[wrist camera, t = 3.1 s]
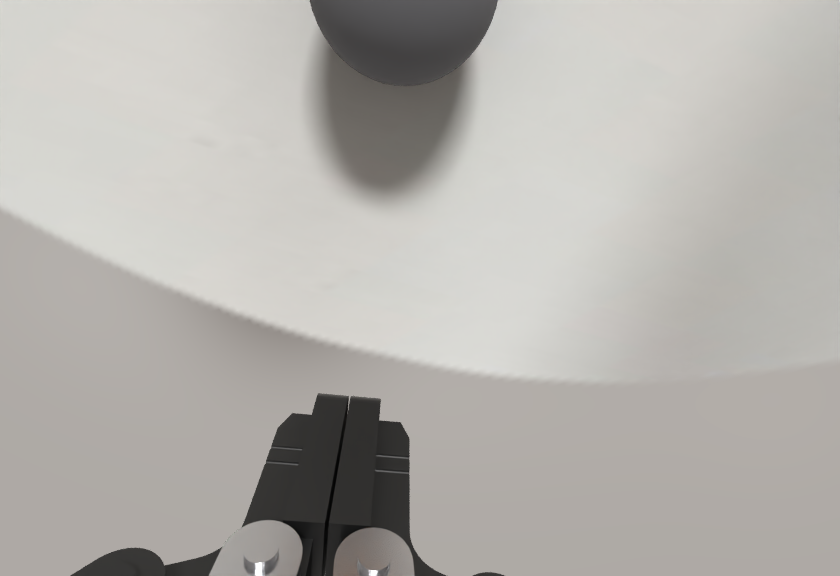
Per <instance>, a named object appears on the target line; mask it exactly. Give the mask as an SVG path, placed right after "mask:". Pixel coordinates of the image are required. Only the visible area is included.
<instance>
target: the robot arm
mask: <svg viewBox="0 0 840 576" xmlns="http://www.w3.org/2000/svg"><path fill="white" fill-rule="evenodd" d="M348 401H349V396H343V395H331V394H320V393H319V394H318V395H317V398H316V402H315V405H314V409H313V413H312V415H307V414H295V413H293V414H291V415H290V416H289V417H288V418H287V419H286V420H285V421H284V422H283V423H282V424H281V425H280V426H279V427H278V429H277V432H276V435H275V437H274V440H273V443H272V447H271V449H270V451H269V455H268V457H267V460H266V464H265V465H264V469H263V471H262V474H261V477H260V479H259V483H258V485H257V488H256V491H255V494H254V496H253V499H252V502H251V505H250V507H249V510H248V513H247V516H246V519H245V521H244V523H243V526H242V527H241V529H239V530H237V531H236V532H234V534H232V535H231V536H230V537H229V538H228V540H227V541H226V542H225V544H224V546H223V547H222V548H220V549H218V550H217V551H215V552H213V553H211V554H208V555H206V556H203V557H199V558H196V559H192V560H187V561H183V562H179V563H174V564H170V565H165V566H164V564H163V562H162V560H161V559H160V557H159V556H158V555H156V554H155V553H153V552H152V551H150V550H146V549H142V548H127V549H121V550H117V551H114V552H111V553H109V554H106V555H104V556H102V557H100V558H98V559H97V560H95V561H93V562H92V563H90V564H89V565H87V566H85V567H84V568H82V569H81V570H79V571H77V572H76V573H74V574H72V575H71V576H446V575H443V574H441V573H439V572H437V571H435V570H433V569H432V568H430V567H429V566H428V565H427V564H425V563H424V562H423V561H422V560H421V558H420V557H419V556H418V555H417V553H416V552H415V550H414V548H413V545H412V543H411V540H410V531H409V530H410V529H409V528H410V526H409V437H408V435H407V433H406V432H405V430H404V428H403V426H402V424H401V423H400V422H390V421H379V414H380V402H381V399H378V398H366V397H355V396H351V398H350V404H349V410H348ZM347 414H348V415H347ZM325 571H326V572H325ZM473 576H504V575H501V574H497V573H488V572H485V573H479V574H476V575H473Z"/></svg>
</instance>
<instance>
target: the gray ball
mask: <svg viewBox="0 0 840 576" xmlns="http://www.w3.org/2000/svg"><path fill="white" fill-rule="evenodd" d="M497 1H498V0H310V3H311V7H312V11H313V13H314V16H315V18H316V21H317V24H318V26H319V27H320V29H321V31H322V33H323V35H324V37H325V38H326V40H327V41H328V43H329V44H330V46H331V47H332V48H333V49H334V51H335V52H336V53H337V54H338V55H339V56H340V57H341V58H342V59H343V60H344V61H345V62H346V63H347V64H348V65H349V66H351V67H352V68H354V69H355V70H357V71H358V72H359V73H361V74H363V75H365V76H367V77H369V78H371V79H373V80H376V81H379V82H382V83H386V84H391V85H399V86H411V85H419V84H424V83H428V82H431V81H434V80H436V79H439V78H441V77H443V76H445V75H447V74H448V73H450V72H452V71H453V70H454V69H456V68H457V67H458V66H460V65H461V64H462V63H463V62H464V61H465V60H466V59H467V58H468V57H469V56H470V55H471V54H472V53H473V52H474V50H475V49H476V48H477V47H478V45H479V44H480V42H481V41H482V39H483V37H484V36H485V34H486V32H487V30H488V28H489V26H490V24H491V21H492V19H493V16H494V13H495V10H496V6H497Z"/></svg>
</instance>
